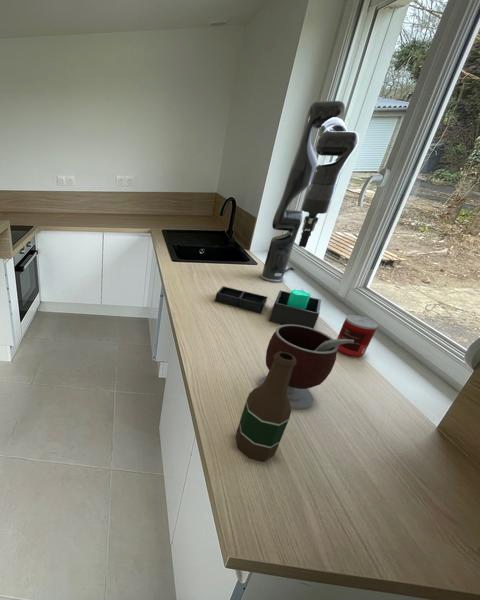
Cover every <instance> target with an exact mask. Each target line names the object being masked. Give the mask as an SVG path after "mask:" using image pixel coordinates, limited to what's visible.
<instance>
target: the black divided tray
mask: <svg viewBox="0 0 480 600" xmlns="http://www.w3.org/2000/svg"><path fill="white" fill-rule="evenodd" d="M267 301H268V296H265V295H262V294H258V293H253V292H248V291H246V290H241V289H236V288H232V287H229V286H224V285H223V286H221V287H220V288H219V290H218V291H217V292H216V295H215V299H214V302H215V303H218V304H223V305H227V306H230V307H234V308H237V309H240V310H246V311H249V312H252V313H256V314H260V315H261V314H262V313H263V311H264V308H265V307H266V304H267Z"/></svg>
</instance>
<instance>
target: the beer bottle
mask: <svg viewBox="0 0 480 600" xmlns="http://www.w3.org/2000/svg"><path fill="white" fill-rule="evenodd" d="M273 358H274V361H273V363H272V365H271V368H270V370H269V369H268V371H267V372H268V373H267V374H266V376H267V377H266V376H265V377H266V379H265V381H264V382H263V384H262V385H261V386H259V385H258V386H256V387H255V388H253V390H251V391H250V392H249V394H248V396H247V398H246V401H245V404H244V407H243V410H242V412H241V416H240V420H239V422H238V425H237V429H236V433H235V442H236V448H237V450H239V452H241V453H242V454H243V455H244V456H245V457H246V458H247V459H250V460H253V461H257V462H261V463H265V462H266V461H268V460H269V459H272V458H273V457H274V455H275V454H276V453H277V450H278V448H279V445H280V443H281V439H282V438H283V436H284V433H285V431H286V428H287V425H288V423H289V422H290V421H289V420H290V417H291V413H292V409H291V405H290V402H289V399H288V397H287V388H288V384H289V381H290V377H291V374H292V370H293V367H294V366H295V365H297V364H296V358H295V356H293V355H291V354H289V353H287V352H281V351H280V352H277V353H275V355H274V356H273Z"/></svg>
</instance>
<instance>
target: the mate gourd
mask: <svg viewBox="0 0 480 600" xmlns="http://www.w3.org/2000/svg"><path fill="white" fill-rule="evenodd" d="M345 343H353V344H354V340H349V339H337V338H333V337H332V336H330V335H328V334H327V333H325V332H323V331H321V330H319V329H315V328H314V329H313V328H309V327H306V326H301V325H293V324H287V325H281V324H280V325H279V326H276V329H275V331H274V332H273V334H272V336H271V337H270V339H269V341H268V345H267V348H266V352H265V365H266V367H267V369H268V371H269V370H270V368H271V365H272V363H273V361H274V358H273V356H274V355H275V353H277V352H280V351H281V352H287V353H289V354H291V355H293V356H295V358H296V364H297V365H295V366H294V367H293V370H292V374H291V377H290V381H289V384H288V388H287V397H288V399H289V402H290V405H291V410H307V409H309V408H310V407H311V406H312V405H313V403H314V397H313V395H312V393H311V391H309V389H311V388H313V387H317V386H320V385H321V384H323V383H324V382H325V381H326V380H327V378H328V377H329V375H330V374H331V372H332V371H333V368H334V366H335V363H336V360H337V357H338V351H337V349H338V345H341V344H345ZM266 377H267V375H266V376H263V377H262V378H261V379H260V380H259V383H258V387H259V386H261V385H262V384H263V382H264V381H265V379H266Z"/></svg>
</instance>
